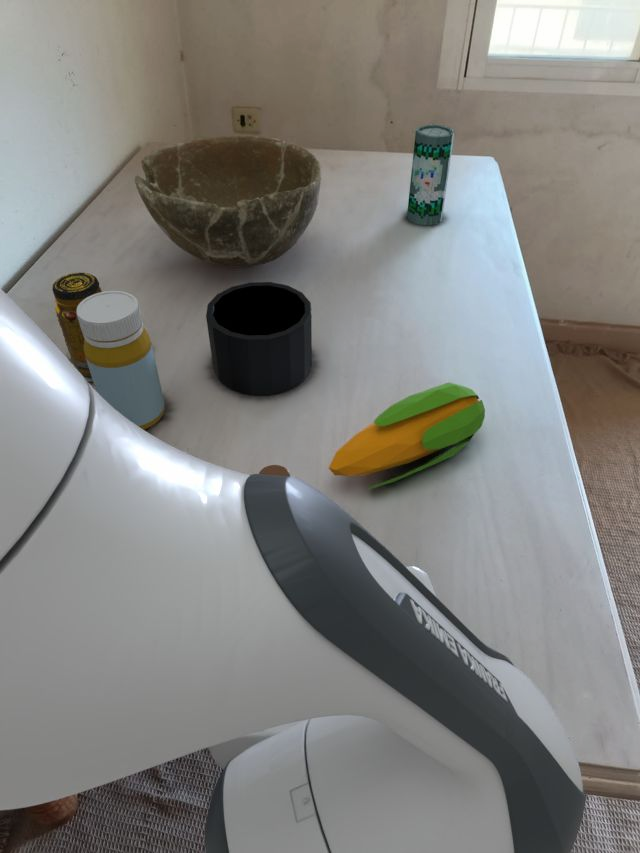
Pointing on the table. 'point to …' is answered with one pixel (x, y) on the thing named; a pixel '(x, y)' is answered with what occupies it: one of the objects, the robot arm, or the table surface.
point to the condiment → (74, 314)
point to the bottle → (121, 356)
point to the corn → (413, 432)
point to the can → (429, 174)
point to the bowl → (232, 196)
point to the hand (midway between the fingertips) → (288, 554)
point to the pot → (260, 337)
